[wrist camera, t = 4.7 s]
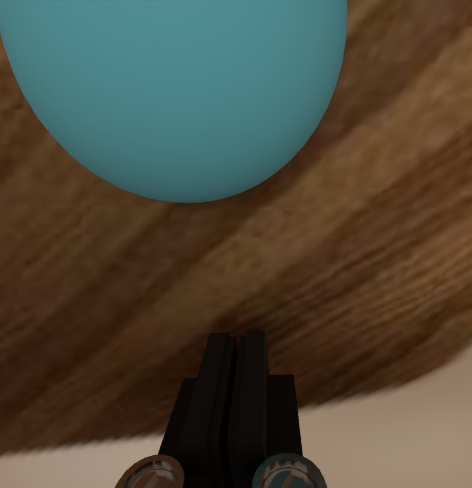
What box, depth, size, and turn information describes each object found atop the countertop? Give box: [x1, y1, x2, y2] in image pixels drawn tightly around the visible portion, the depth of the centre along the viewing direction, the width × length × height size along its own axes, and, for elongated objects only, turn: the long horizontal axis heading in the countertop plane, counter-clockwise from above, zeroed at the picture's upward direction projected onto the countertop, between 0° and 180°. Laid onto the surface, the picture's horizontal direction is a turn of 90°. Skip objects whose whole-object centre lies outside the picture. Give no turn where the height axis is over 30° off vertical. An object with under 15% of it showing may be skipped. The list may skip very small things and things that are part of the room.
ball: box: [0, 0, 347, 203], centre depth 7 cm, size 6×6×6 cm
